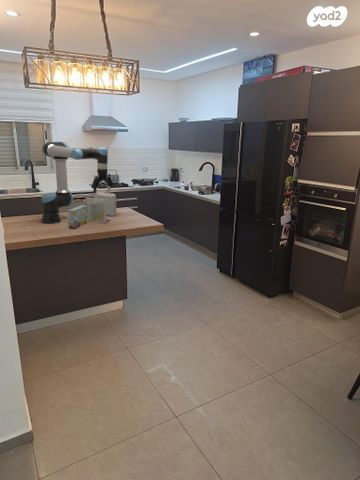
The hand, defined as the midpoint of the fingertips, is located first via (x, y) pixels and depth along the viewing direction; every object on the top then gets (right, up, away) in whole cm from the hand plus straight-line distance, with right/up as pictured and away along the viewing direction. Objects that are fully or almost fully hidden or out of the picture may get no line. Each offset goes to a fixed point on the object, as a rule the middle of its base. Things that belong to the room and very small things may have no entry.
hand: (102, 195), depth 258 cm
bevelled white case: (-8, -11, +49) cm, 51 cm away
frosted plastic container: (-9, -18, +27) cm, 34 cm away
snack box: (-22, -23, +11) cm, 34 cm away
